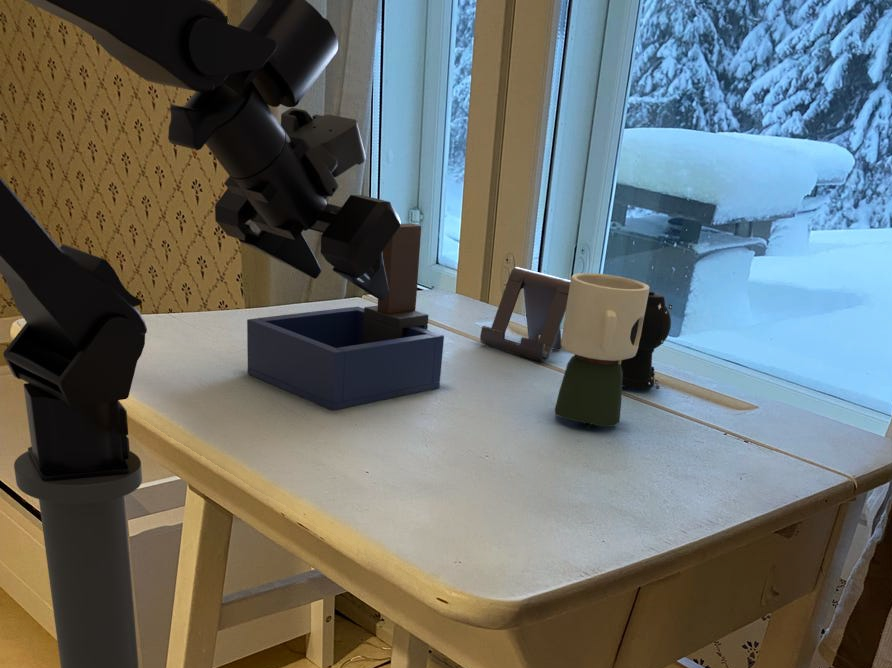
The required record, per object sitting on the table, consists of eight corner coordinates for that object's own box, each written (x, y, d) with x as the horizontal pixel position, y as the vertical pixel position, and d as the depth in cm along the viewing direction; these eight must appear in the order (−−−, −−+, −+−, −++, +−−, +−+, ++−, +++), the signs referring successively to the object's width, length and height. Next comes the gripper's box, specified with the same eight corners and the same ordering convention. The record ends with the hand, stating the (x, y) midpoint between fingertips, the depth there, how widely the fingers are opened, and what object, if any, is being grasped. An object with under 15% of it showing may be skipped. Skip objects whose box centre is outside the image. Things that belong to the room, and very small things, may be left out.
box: (332, 410, 87) (334, 352, 84) (247, 373, 93) (246, 319, 91) (439, 387, 97) (444, 335, 94) (355, 356, 103) (357, 306, 101)
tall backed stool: (396, 364, 96) (405, 230, 90) (361, 352, 99) (368, 221, 92) (425, 359, 99) (436, 229, 92) (390, 347, 101) (399, 219, 95)
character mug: (628, 445, 88) (658, 298, 81) (551, 436, 88) (575, 288, 81) (616, 408, 97) (642, 274, 91) (546, 400, 97) (567, 265, 91)
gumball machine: (672, 393, 105) (693, 298, 100) (632, 398, 102) (652, 300, 96) (631, 375, 109) (649, 283, 104) (591, 379, 106) (608, 284, 101)
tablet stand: (477, 344, 113) (486, 270, 109) (515, 336, 119) (524, 265, 115) (539, 363, 109) (551, 287, 105) (575, 354, 115) (587, 281, 111)
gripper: (393, 88, 74) (471, 238, 87) (240, 64, 83) (331, 201, 96) (310, 201, 72) (403, 335, 85) (165, 162, 82) (268, 289, 95)
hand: (350, 285), depth 90 cm, fingers open, 9 cm apart
